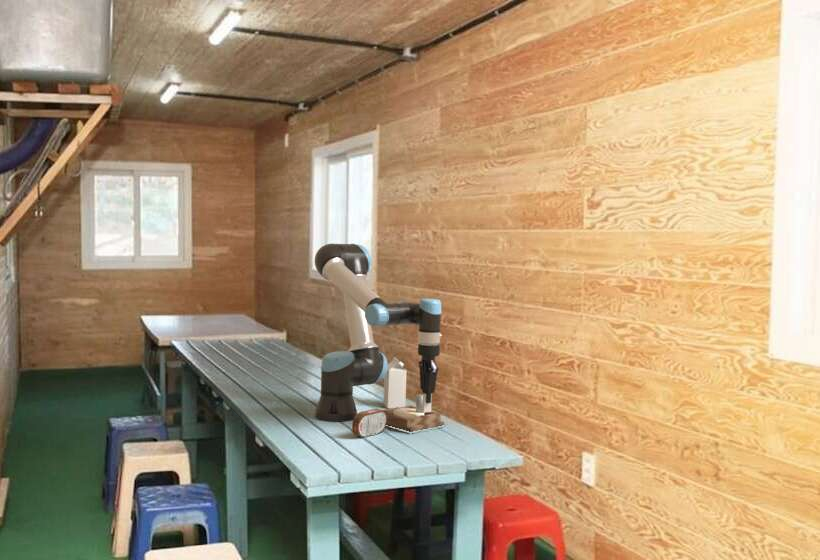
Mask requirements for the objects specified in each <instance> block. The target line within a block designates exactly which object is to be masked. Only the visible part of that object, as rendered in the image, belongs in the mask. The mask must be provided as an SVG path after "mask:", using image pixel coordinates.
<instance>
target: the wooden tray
mask: <svg viewBox="0 0 820 560" xmlns="http://www.w3.org/2000/svg"><path fill="white" fill-rule="evenodd" d="M400 408H414V409H416V406H414V405H405V406H404V407H398V408H387V409H381V410H382V411H384V412H385V413H386V415H387V423H386V425H388V426H392V427H395V428H399V429H403V430H406V431H409V432H413V431H418V430H423V429H428V428H434V427H438V426H442V425H444V426H445V421H444V420H443V421H442V420H441V419H442V418H441V417H442V414H441V413H439V412H436V411H432V410H431V412H424V415H421V416H419V417H413V418H404V417H401V416H397V415H394V414H393V411H394V410H395V409H400Z"/></svg>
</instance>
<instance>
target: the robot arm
mask: <svg viewBox="0 0 820 560" xmlns="http://www.w3.org/2000/svg"><path fill="white" fill-rule="evenodd" d="M314 266H315V269H316V271H317V272H318V274H319V275H320V276H321V277H322V278H323V279H324V280H326V281H330V282H332V283H333V284H334V286H336V287H337V288H338V289H339V290H340V291H341V292H342V294H343V299H344V306H345V312H346V321H347V326H348V332H349V333H348V334H349V339H350V347H349V349H348V350H341V351H333V352H329V353H328V352H327V353H326V354H325V355H323V357H322V359H321V365H320V370H321V373H320V375H321V377H320V378H321V379H320V396H319V400H318V403H317V406H316V408H315V416H314V417H315V418H316V419H317V420H321V421H327V422H348V421H353V420H354V418H355V416H356V415H357V414H358V411H357V407H356V404H355V399H354V392H353V391H354V387H357V386H365V385H373V384H376V383H379V382H381V381H382V380H384V376H385V375H386V373H387V368H388V364H389V363H388V359H387V357H386V356H385V354H384V353H382V352H381V351H380V348H379V345H377V344H376V343H375V342H374V335H373V330H372V329H373V328H372V327H387V326H397V325H398V326H399V325H416V326H418V335H417V342H418V343H419V344H417V354H418V355H419V356H420V357H421V356H422V357H421V360H419V361H418V367H419V387H420V390H421V391H422V395H423V405H422V411H423V412H431V411H432V400H433V399H432V394H433V393H435V392H436V383H437V377H438V376H437V375H438V372H439V366H436V357H439V356H440V351H441V346H440V344H441V337H442V334H441V324H442V322H441V321H442V314H443V313H442V301H441V299H437V298H436V299H435V298H420V300H419V303H418V302H417V303H416V302H409V301H399V302H394V303H392V302H391V303H387V302H386V301H385V300H384V299H383V298H382V297H380V296H379V294H377V293H376V292H375V291H374V290H373V289H372V288H370V287H369V286H368V285H367V284H365V283H366V282H365V280H366V279H367V278H368V272H370V270H371V266H372V256H371V254H370V251H369V250H368V249H367V248H366V247H365V246H363V245H362V244H355V243H327V244H324V245H322V246H321V247H320V248H319V249H318V250H317V251H316V253H315V256H314Z"/></svg>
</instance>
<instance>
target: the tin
mask: <svg viewBox="0 0 820 560" xmlns="http://www.w3.org/2000/svg"><path fill="white" fill-rule="evenodd" d="M382 410H383V409H379V408H372V409H368V410H362V411H360V412H357V415H356V416H355V418H354V419H353V420H352V424H351V430H352V433H353V434H354V436H356V437H359V438H363V437H364V436H368V435H372V434H376V433H379V432H381V433H382V432H383V431H384V430H385V429H386V428H387V427H386V423H387V415H386V413H385V412H384V411H382ZM376 435H377V434H376ZM372 436H373V435H372ZM368 437H369V436H368ZM364 438H365V437H364Z"/></svg>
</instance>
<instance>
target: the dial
mask: <svg viewBox="0 0 820 560" xmlns="http://www.w3.org/2000/svg"><path fill="white" fill-rule="evenodd" d="M415 397H416V399H415V400H416V401H415V407H416V409H414V408H400V409H395V410H394V411H393V414H394V415H397V416H401V417H404V418H413V417H419V416H421V415H424V412H423V411H422V405H423V394H416V396H415Z"/></svg>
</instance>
